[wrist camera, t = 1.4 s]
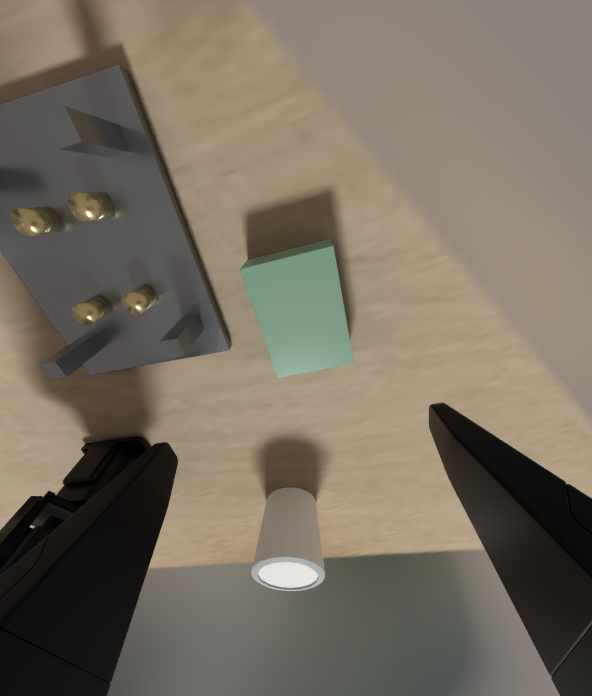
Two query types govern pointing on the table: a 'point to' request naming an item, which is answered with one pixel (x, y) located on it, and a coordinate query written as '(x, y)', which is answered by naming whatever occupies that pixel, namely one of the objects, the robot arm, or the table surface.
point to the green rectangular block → (300, 308)
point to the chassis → (101, 229)
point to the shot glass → (289, 542)
